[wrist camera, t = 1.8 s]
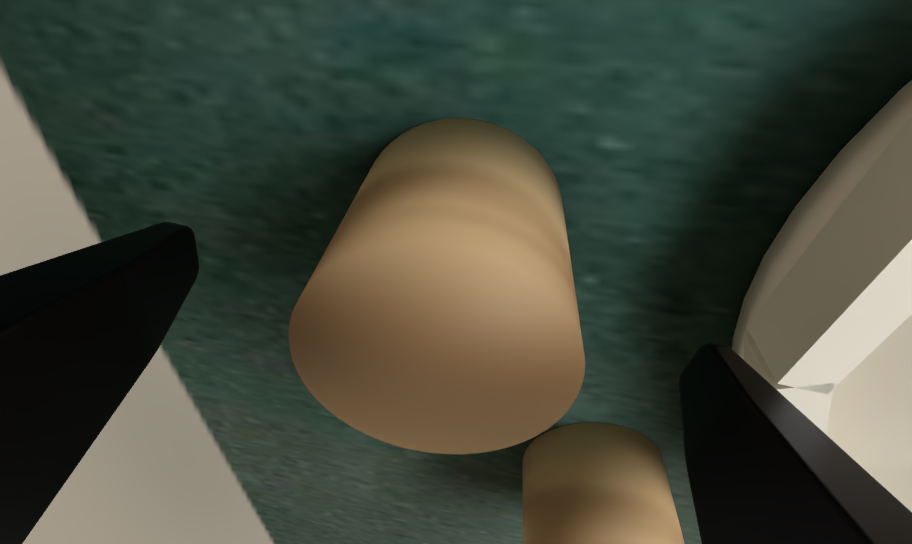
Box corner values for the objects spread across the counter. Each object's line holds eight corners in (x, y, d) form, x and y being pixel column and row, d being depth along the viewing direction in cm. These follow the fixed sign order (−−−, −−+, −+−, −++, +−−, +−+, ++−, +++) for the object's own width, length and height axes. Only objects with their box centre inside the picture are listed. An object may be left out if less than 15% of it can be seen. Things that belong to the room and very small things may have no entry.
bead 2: (628, 510, 17) (656, 667, 14) (507, 485, 17) (504, 637, 14) (687, 439, 15) (742, 611, 11) (546, 409, 15) (555, 573, 11)
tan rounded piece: (528, 309, 12) (532, 474, 9) (356, 270, 12) (288, 424, 9) (593, 146, 10) (636, 289, 6) (374, 94, 10) (286, 210, 6)
